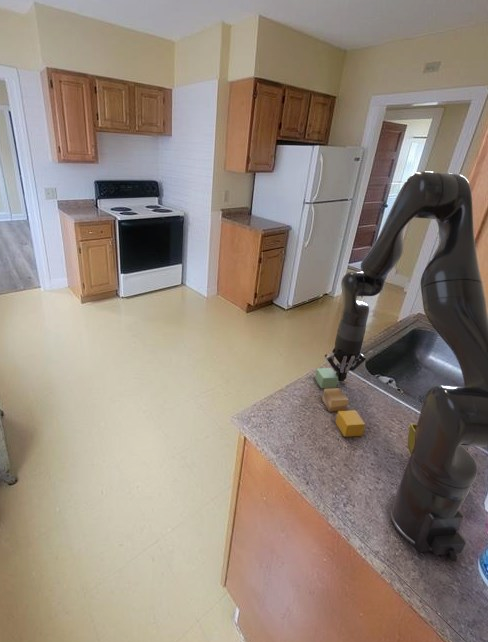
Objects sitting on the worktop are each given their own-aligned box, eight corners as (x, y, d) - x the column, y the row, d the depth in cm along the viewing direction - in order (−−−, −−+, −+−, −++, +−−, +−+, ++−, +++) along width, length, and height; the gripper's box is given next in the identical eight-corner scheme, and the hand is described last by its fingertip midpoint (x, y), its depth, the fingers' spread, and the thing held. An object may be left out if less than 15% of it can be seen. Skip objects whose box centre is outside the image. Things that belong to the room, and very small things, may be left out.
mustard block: (362, 435, 85) (365, 424, 83) (344, 436, 84) (347, 425, 83) (352, 421, 90) (355, 410, 88) (335, 422, 89) (338, 411, 88)
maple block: (345, 410, 93) (348, 399, 92) (329, 411, 93) (331, 400, 91) (337, 398, 98) (340, 388, 96) (321, 399, 97) (324, 388, 96)
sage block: (336, 387, 102) (338, 377, 101) (321, 388, 102) (323, 378, 100) (329, 377, 107) (331, 367, 105) (314, 378, 106) (316, 368, 105)
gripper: (335, 341, 94) (325, 388, 100) (378, 339, 95) (365, 386, 101) (324, 328, 101) (315, 373, 107) (364, 327, 102) (353, 371, 108)
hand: (340, 379), depth 104 cm, fingers closed
